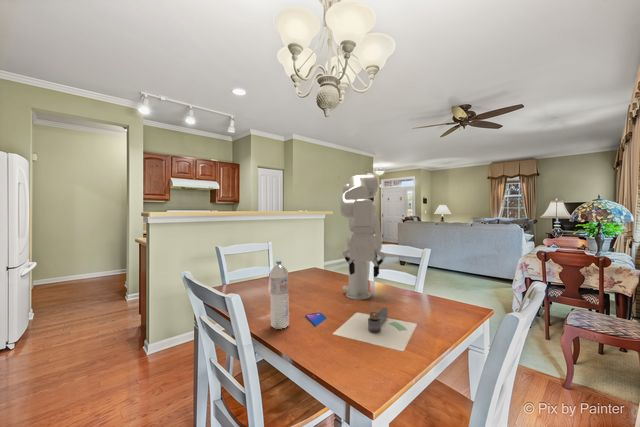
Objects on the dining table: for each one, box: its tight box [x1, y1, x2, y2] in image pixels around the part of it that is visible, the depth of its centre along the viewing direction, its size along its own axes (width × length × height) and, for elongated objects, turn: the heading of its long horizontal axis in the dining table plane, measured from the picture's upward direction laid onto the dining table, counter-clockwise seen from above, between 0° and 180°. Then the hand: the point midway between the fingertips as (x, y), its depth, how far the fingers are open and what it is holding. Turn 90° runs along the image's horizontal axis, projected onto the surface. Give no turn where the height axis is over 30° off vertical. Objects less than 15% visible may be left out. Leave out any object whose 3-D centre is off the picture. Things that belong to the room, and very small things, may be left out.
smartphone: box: [304, 312, 327, 328], centre depth 107 cm, size 7×1×15 cm
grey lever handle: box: [368, 307, 388, 333], centre depth 99 cm, size 15×4×6 cm, turn 150°
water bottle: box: [269, 260, 290, 330], centre depth 103 cm, size 7×7×25 cm
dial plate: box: [332, 312, 418, 352], centre depth 96 cm, size 24×22×2 cm
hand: (363, 275), depth 105 cm, fingers open, 9 cm apart
